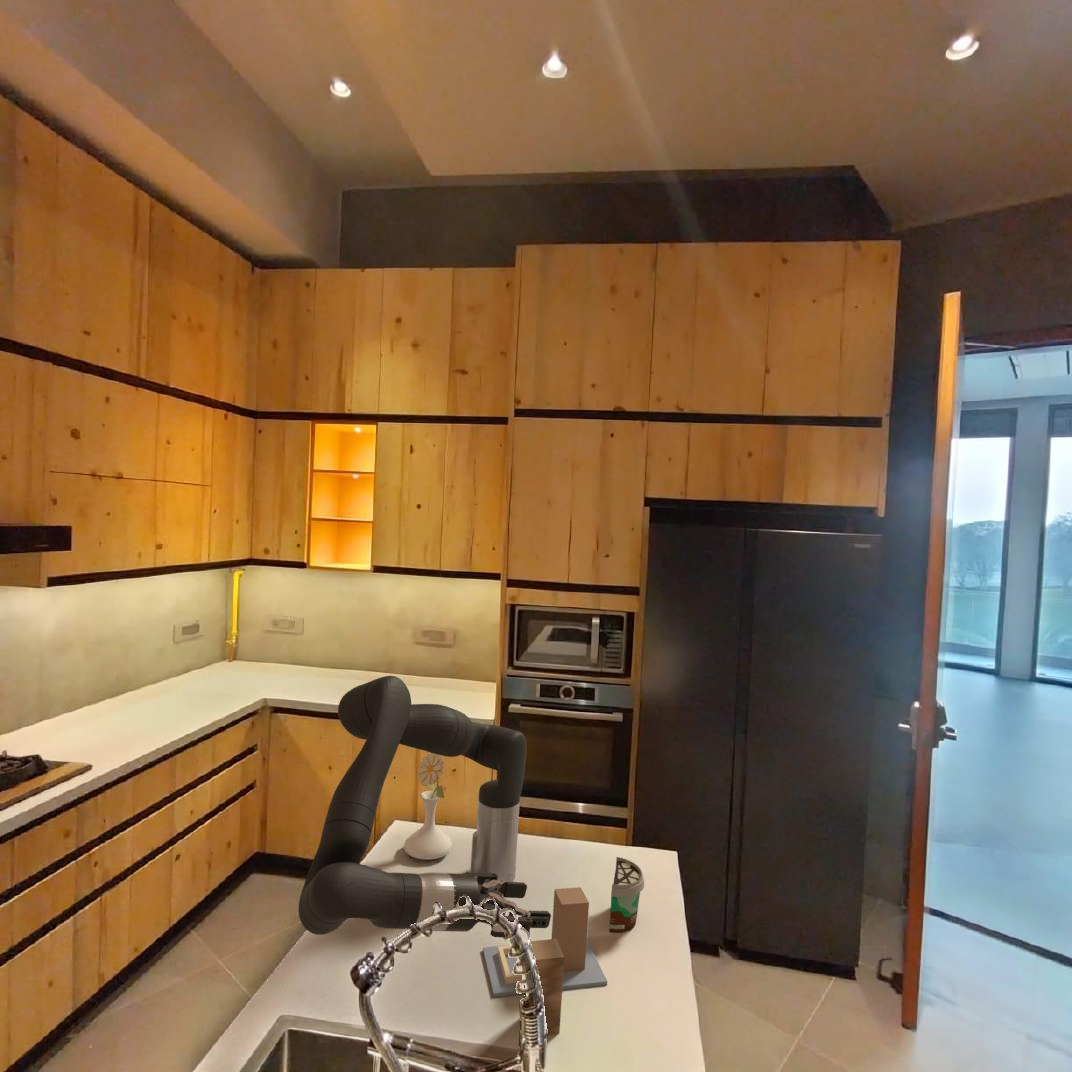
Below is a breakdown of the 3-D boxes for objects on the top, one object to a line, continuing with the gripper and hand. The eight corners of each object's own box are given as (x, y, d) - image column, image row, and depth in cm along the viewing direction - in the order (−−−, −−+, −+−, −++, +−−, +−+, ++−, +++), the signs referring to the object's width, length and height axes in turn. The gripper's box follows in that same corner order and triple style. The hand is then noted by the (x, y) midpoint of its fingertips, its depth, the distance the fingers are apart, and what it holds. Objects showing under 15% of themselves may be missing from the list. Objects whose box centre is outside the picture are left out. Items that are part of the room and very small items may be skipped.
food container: (640, 942, 126) (643, 891, 126) (608, 936, 127) (611, 885, 127) (643, 907, 138) (646, 860, 138) (613, 902, 139) (616, 855, 139)
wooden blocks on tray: (493, 996, 109) (498, 922, 109) (482, 950, 121) (486, 883, 121) (607, 984, 114) (611, 912, 114) (586, 941, 125) (590, 876, 125)
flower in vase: (398, 844, 158) (404, 741, 158) (444, 838, 163) (450, 738, 163) (411, 872, 146) (417, 760, 146) (459, 864, 151) (466, 756, 151)
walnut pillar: (530, 1036, 101) (535, 959, 101) (524, 1015, 106) (528, 941, 105) (559, 1033, 102) (564, 957, 102) (551, 1011, 107) (556, 938, 107)
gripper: (421, 901, 103) (512, 904, 110) (450, 957, 90) (551, 956, 97) (434, 853, 103) (523, 859, 110) (464, 901, 90) (564, 904, 97)
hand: (536, 904), depth 103 cm, fingers open, 8 cm apart
